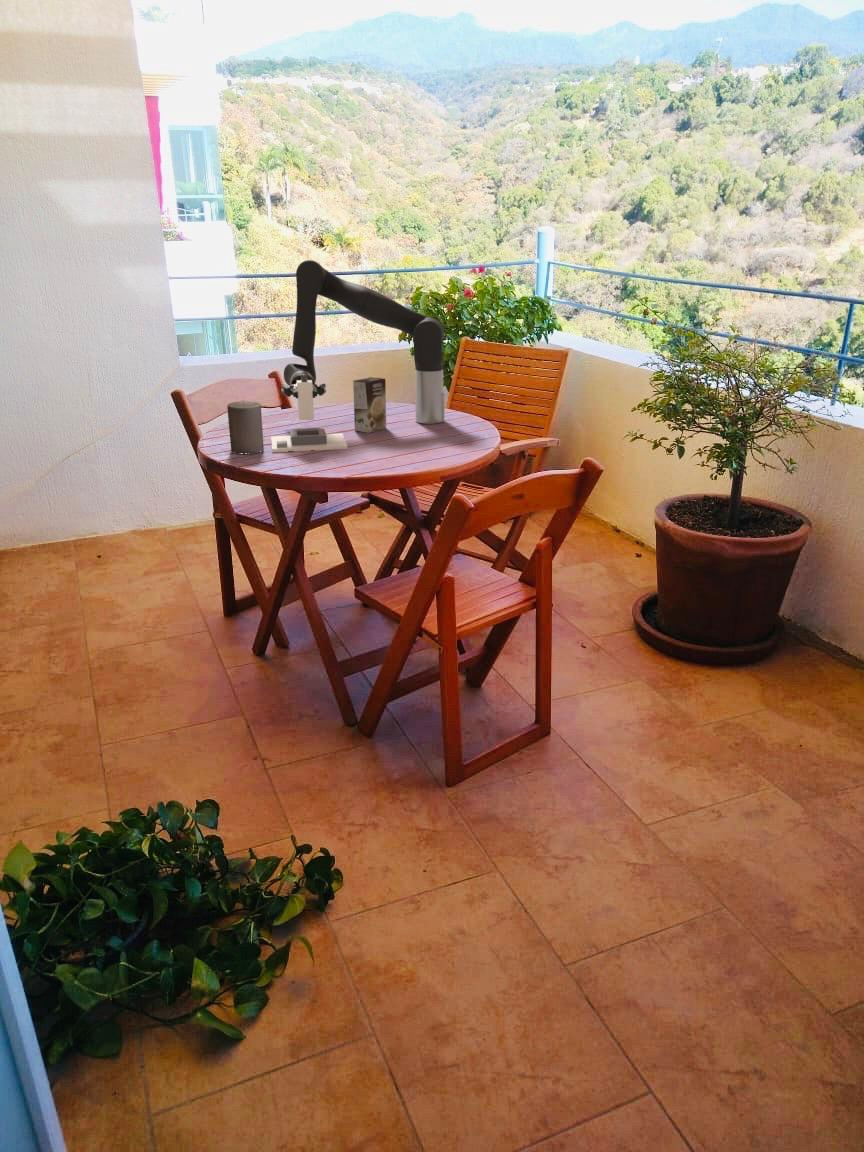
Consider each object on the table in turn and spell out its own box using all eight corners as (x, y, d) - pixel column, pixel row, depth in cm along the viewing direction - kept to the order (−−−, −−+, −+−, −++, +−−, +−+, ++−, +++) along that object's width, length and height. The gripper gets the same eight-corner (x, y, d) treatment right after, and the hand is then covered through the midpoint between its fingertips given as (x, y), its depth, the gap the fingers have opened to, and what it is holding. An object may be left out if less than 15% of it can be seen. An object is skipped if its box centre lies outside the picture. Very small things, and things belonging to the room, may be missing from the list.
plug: (313, 416, 252) (311, 373, 247) (314, 419, 248) (311, 375, 243) (298, 417, 251) (296, 373, 246) (299, 420, 247) (296, 375, 242)
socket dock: (342, 436, 262) (341, 425, 260) (347, 448, 247) (346, 437, 246) (271, 439, 258) (270, 428, 257) (272, 452, 243) (271, 440, 242)
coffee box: (369, 433, 266) (368, 382, 259) (354, 430, 269) (352, 380, 263) (387, 428, 273) (385, 378, 266) (371, 425, 276) (370, 376, 270)
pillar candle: (224, 453, 243) (219, 401, 237) (241, 445, 252) (237, 395, 246) (253, 456, 240) (249, 404, 234) (270, 448, 249) (267, 397, 243)
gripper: (278, 372, 257) (280, 382, 242) (324, 371, 260) (329, 381, 244) (280, 397, 260) (281, 408, 245) (325, 395, 263) (330, 406, 247)
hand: (305, 394), depth 245 cm, fingers closed on plug, 4 cm apart
